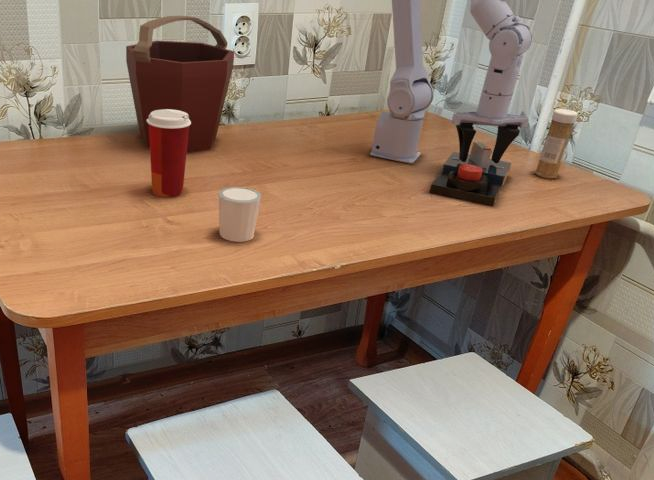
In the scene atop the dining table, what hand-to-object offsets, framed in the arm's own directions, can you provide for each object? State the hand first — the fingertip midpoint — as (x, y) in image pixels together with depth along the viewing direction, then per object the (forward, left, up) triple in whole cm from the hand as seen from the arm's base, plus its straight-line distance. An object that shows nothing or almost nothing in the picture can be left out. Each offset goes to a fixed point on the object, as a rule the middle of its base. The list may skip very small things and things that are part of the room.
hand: (478, 161), depth 144 cm
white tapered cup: (-29, -54, -4) cm, 61 cm away
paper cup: (-48, -44, -4) cm, 65 cm away
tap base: (0, 0, -3) cm, 3 cm away
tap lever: (0, 0, 0) cm, 0 cm away
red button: (0, -11, 0) cm, 11 cm away
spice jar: (+13, +11, -4) cm, 17 cm away
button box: (0, -11, -3) cm, 12 cm away
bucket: (-62, -16, -4) cm, 64 cm away
